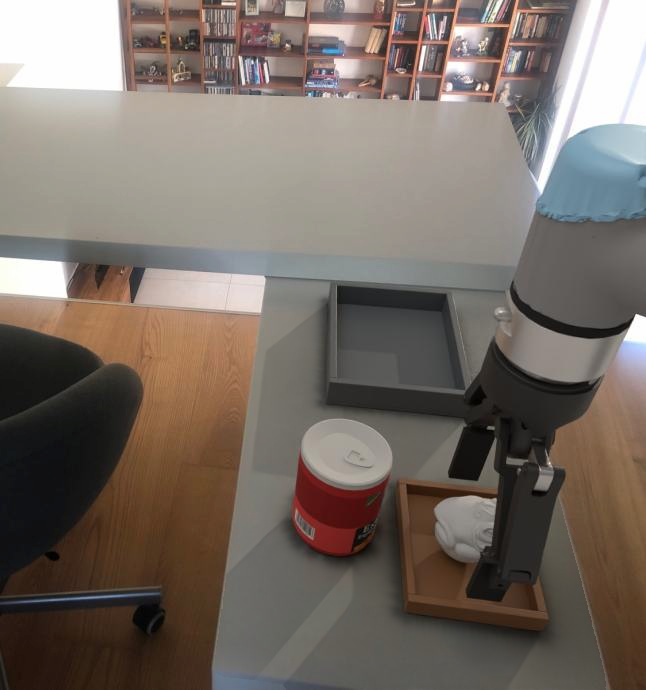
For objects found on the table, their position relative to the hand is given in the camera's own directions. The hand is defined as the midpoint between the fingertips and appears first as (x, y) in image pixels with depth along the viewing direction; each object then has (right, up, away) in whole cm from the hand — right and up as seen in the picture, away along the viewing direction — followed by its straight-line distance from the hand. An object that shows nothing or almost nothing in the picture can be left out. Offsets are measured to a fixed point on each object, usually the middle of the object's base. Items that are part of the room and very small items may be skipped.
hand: (471, 532), depth 62 cm
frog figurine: (0, -3, +2) cm, 3 cm away
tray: (0, -3, +2) cm, 4 cm away
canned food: (-11, -1, +5) cm, 13 cm away
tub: (0, +16, +24) cm, 29 cm away
